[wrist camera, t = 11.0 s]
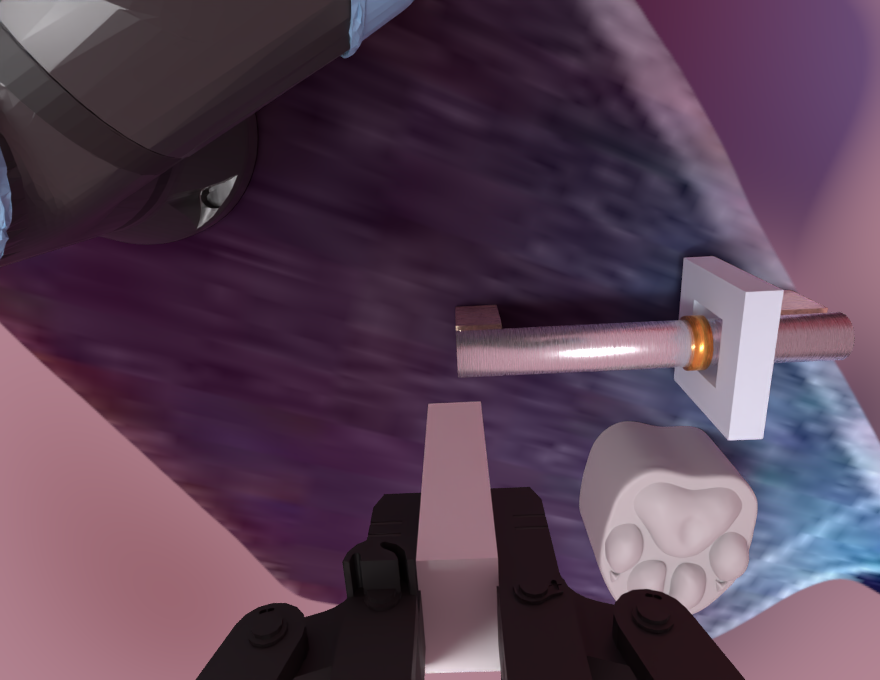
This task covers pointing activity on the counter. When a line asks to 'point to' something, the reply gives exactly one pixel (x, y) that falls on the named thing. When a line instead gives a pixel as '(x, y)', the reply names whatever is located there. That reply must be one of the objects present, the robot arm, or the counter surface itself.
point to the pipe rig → (636, 342)
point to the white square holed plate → (732, 344)
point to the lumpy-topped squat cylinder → (666, 512)
